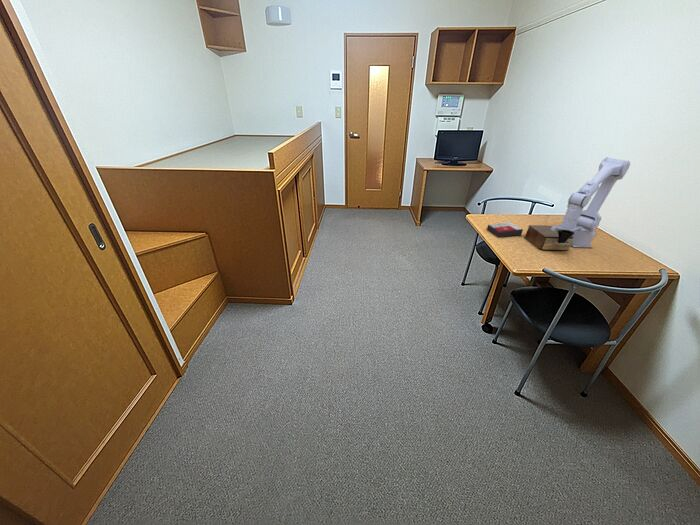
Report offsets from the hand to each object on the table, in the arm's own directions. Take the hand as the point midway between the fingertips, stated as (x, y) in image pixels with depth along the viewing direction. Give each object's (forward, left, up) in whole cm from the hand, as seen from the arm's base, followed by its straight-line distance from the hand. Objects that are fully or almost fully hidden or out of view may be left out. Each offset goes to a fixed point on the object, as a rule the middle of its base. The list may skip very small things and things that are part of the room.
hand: (560, 243), depth 146 cm
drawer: (0, -6, -4) cm, 7 cm away
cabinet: (0, -10, -5) cm, 11 cm away
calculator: (+16, -24, -5) cm, 29 cm away
